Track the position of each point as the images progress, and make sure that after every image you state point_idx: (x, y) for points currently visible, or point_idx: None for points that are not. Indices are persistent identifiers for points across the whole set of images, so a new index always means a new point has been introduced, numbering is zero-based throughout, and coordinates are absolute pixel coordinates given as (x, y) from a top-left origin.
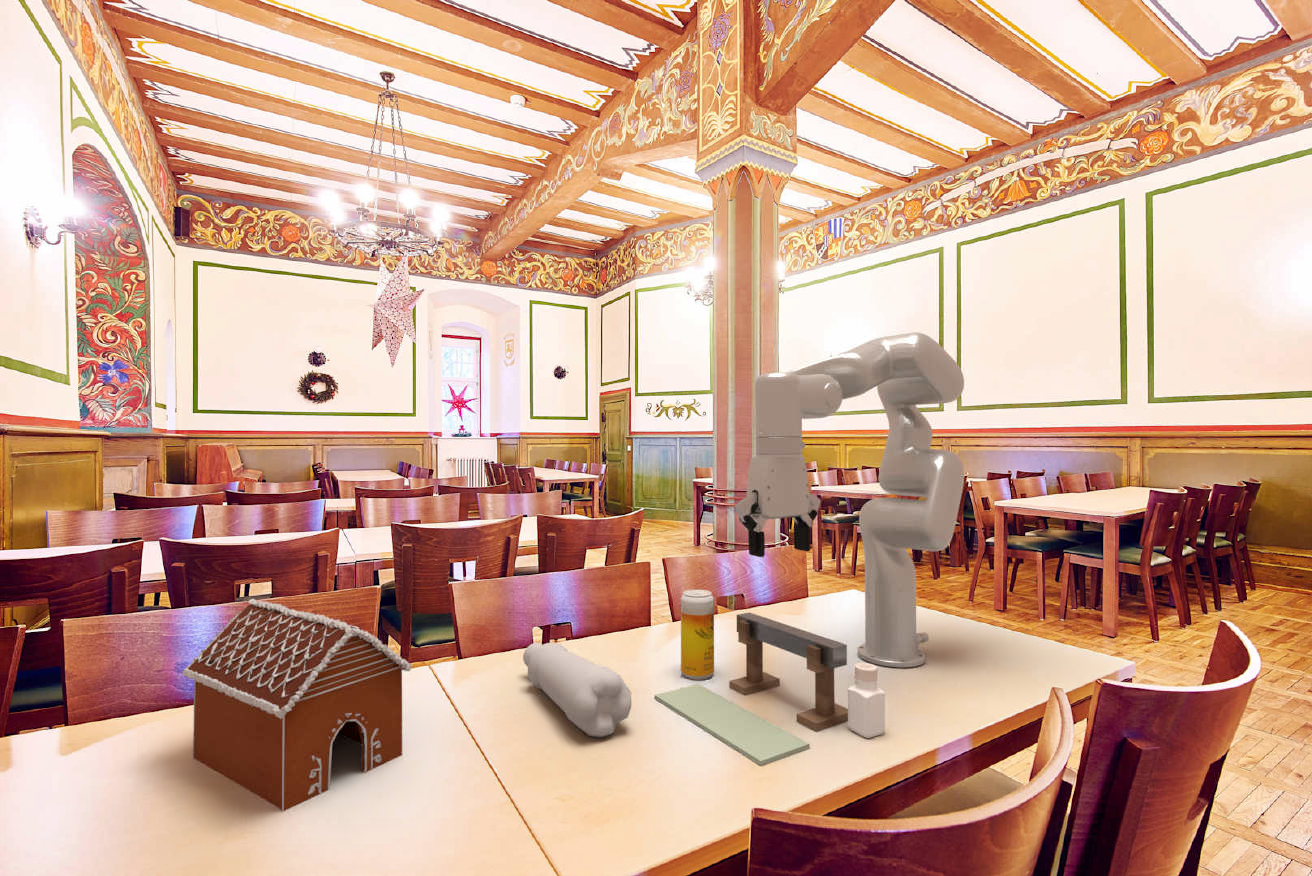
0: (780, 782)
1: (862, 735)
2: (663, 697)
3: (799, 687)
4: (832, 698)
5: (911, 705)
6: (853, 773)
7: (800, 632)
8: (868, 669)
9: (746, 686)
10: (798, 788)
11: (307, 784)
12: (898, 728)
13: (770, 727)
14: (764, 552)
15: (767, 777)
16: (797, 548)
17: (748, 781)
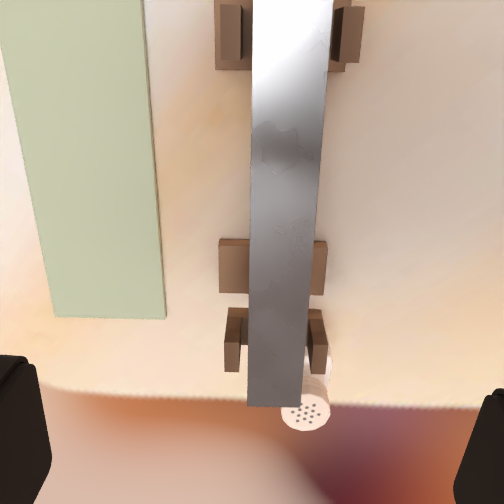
0: (59, 354)
1: None
2: None
3: (374, 109)
4: None
5: (470, 307)
6: (169, 387)
7: (284, 279)
8: (292, 425)
9: (227, 63)
10: (73, 374)
11: None
12: (353, 346)
13: (144, 244)
14: (40, 486)
15: (49, 337)
16: (479, 424)
17: (17, 331)
